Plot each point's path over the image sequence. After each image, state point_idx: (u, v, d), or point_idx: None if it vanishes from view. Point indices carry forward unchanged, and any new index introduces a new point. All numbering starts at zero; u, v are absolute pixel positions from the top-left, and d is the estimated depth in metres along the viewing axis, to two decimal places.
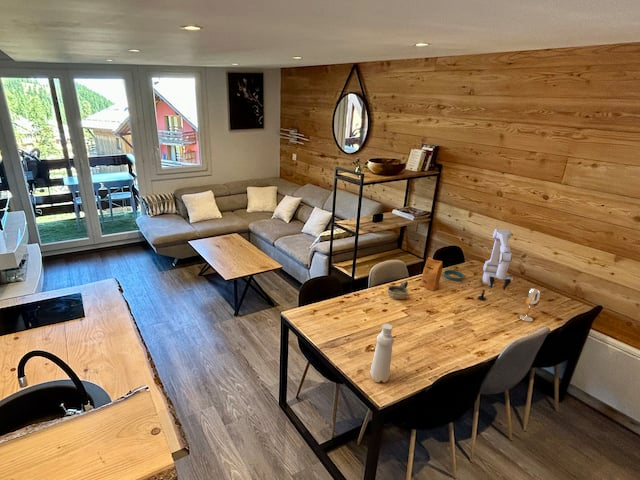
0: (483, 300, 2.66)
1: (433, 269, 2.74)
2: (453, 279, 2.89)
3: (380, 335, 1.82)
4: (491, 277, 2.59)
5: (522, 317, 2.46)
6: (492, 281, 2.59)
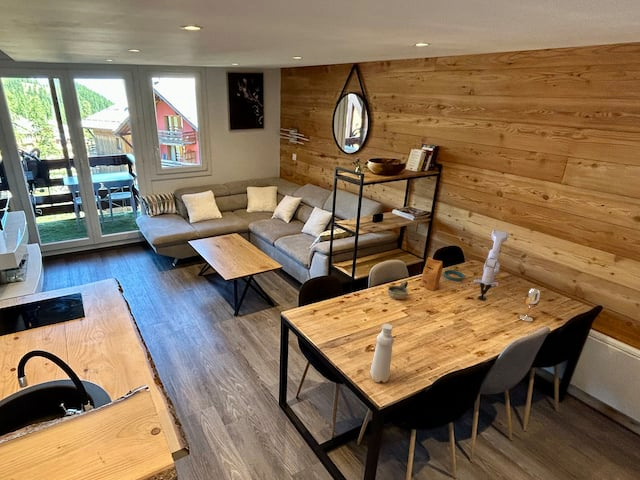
0: (483, 300, 2.66)
1: (433, 269, 2.74)
2: (453, 279, 2.89)
3: (380, 335, 1.82)
4: (481, 283, 2.63)
5: (522, 317, 2.46)
6: (482, 287, 2.63)
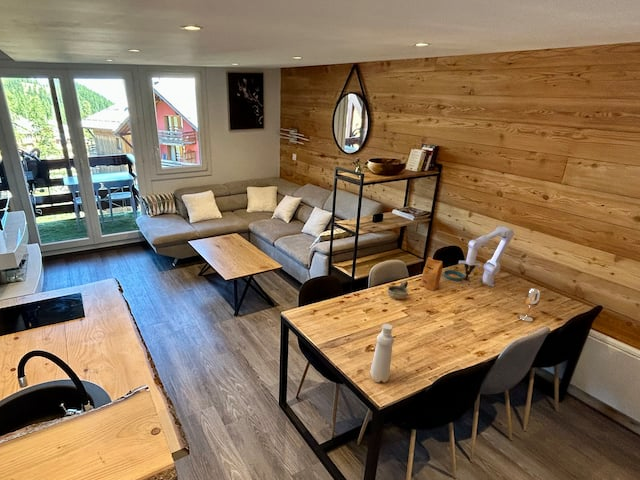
0: (467, 280, 2.80)
1: (433, 269, 2.74)
2: (453, 279, 2.89)
3: (380, 335, 1.82)
4: (466, 264, 2.77)
5: (522, 317, 2.46)
6: (467, 268, 2.77)
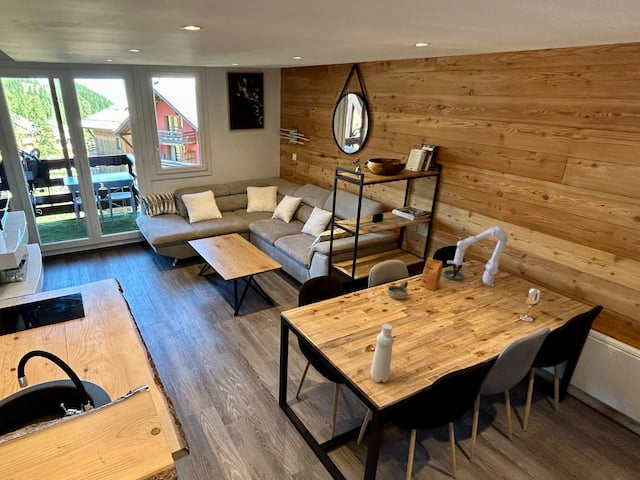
0: None
1: (433, 269, 2.74)
2: (453, 279, 2.89)
3: (380, 335, 1.82)
4: (453, 264, 2.89)
5: (522, 317, 2.46)
6: (454, 267, 2.89)
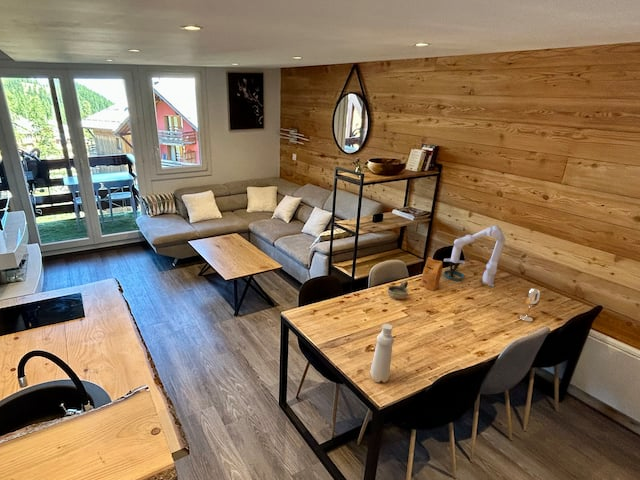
0: None
1: (433, 269, 2.74)
2: (453, 279, 2.89)
3: (380, 335, 1.82)
4: (450, 262, 2.92)
5: (522, 317, 2.46)
6: (451, 265, 2.92)
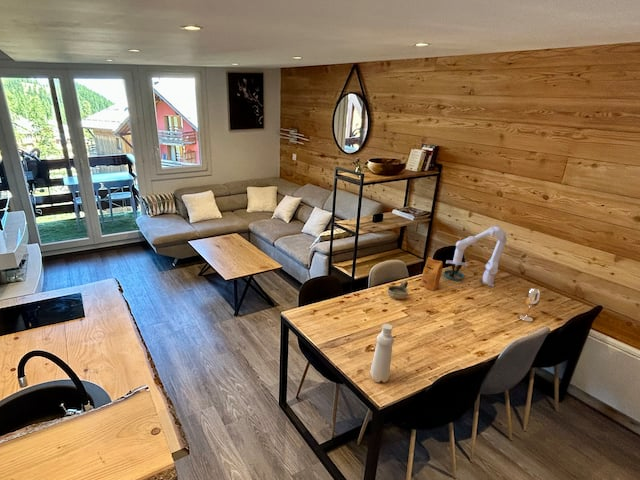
0: None
1: (433, 269, 2.74)
2: (453, 279, 2.89)
3: (380, 335, 1.82)
4: (452, 264, 2.89)
5: (522, 317, 2.46)
6: (453, 267, 2.88)
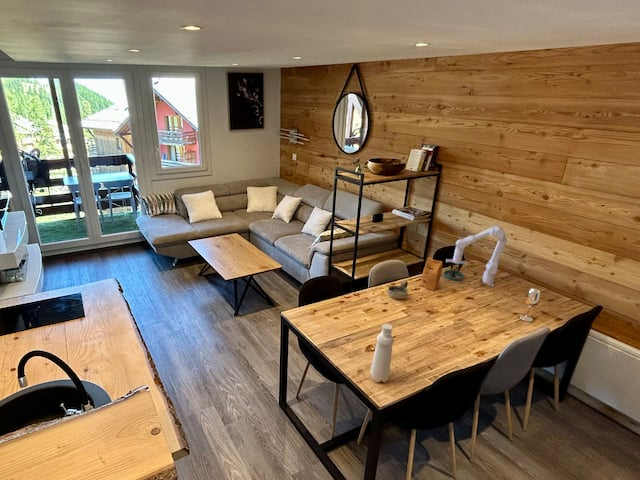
0: None
1: (433, 269, 2.74)
2: (453, 279, 2.89)
3: (380, 335, 1.82)
4: (451, 262, 2.91)
5: (522, 317, 2.46)
6: (452, 266, 2.91)
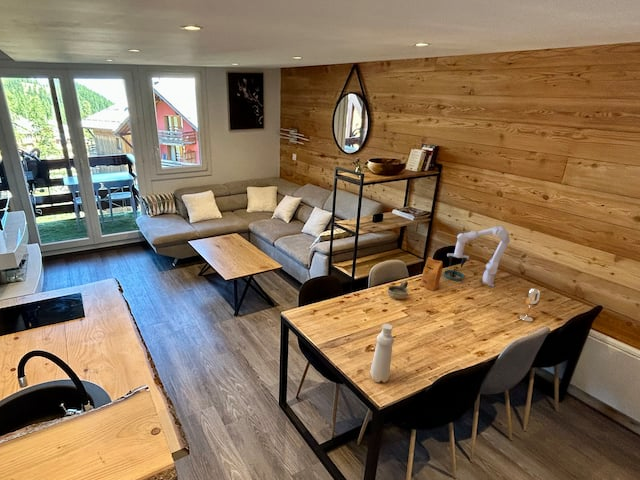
0: None
1: (433, 269, 2.74)
2: (453, 279, 2.89)
3: (380, 335, 1.82)
4: (450, 256, 2.90)
5: (522, 317, 2.46)
6: (450, 260, 2.89)
